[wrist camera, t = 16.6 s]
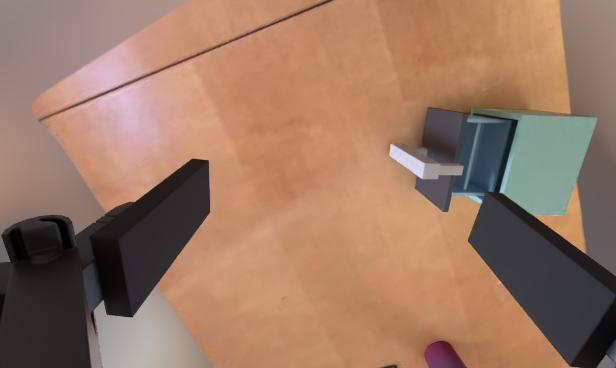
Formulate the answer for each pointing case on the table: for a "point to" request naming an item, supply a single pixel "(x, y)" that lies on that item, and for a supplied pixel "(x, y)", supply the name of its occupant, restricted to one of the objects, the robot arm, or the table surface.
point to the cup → (443, 356)
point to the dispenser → (540, 157)
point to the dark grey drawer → (455, 155)
